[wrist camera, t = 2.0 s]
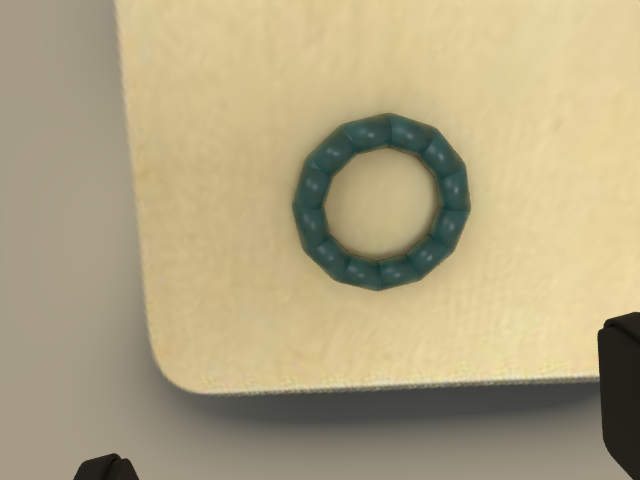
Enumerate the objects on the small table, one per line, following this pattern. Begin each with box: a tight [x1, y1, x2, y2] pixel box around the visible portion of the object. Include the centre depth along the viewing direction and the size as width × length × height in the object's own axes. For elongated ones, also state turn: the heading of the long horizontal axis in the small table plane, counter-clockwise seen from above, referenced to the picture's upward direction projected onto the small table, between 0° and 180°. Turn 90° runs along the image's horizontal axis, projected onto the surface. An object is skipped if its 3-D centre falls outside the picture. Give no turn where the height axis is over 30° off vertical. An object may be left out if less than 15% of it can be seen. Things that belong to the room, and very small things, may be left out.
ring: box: [292, 113, 471, 291], centre depth 22 cm, size 8×8×1 cm
